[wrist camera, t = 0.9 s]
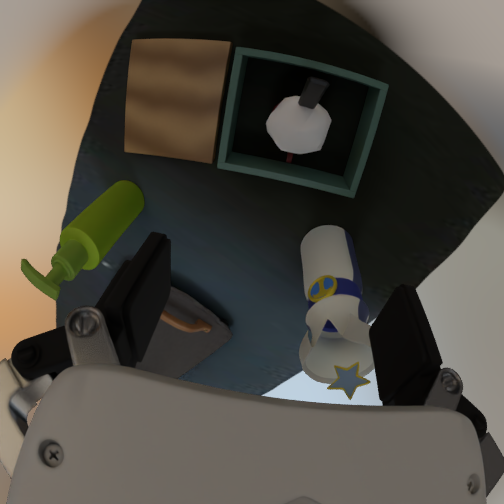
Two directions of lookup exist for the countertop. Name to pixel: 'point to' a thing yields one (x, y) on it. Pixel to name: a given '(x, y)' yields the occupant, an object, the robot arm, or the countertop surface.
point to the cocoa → (300, 120)
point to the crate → (293, 172)
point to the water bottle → (334, 312)
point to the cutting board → (176, 97)
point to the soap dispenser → (89, 236)
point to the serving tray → (183, 336)
